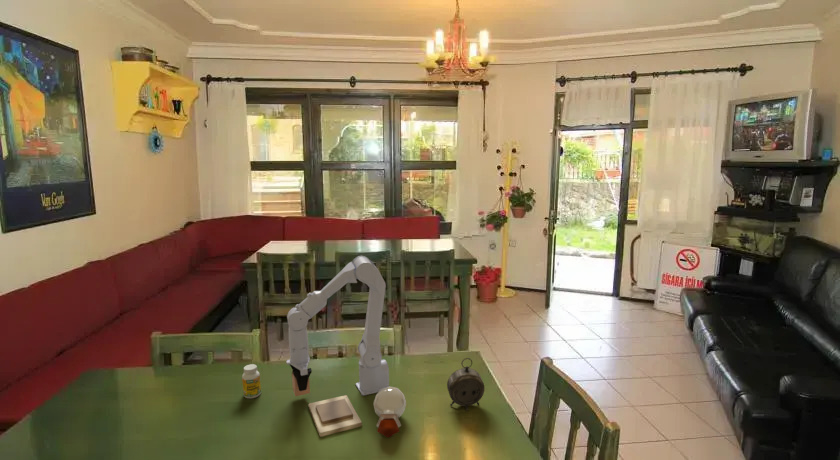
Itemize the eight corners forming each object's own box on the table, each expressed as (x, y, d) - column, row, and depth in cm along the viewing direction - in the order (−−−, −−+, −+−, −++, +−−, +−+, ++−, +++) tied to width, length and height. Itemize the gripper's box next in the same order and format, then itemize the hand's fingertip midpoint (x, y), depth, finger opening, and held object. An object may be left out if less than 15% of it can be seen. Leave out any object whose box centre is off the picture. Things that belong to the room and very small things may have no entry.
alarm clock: (481, 401, 146) (482, 353, 143) (485, 411, 141) (486, 361, 138) (446, 403, 145) (447, 355, 142) (449, 413, 140) (450, 363, 137)
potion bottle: (394, 411, 143) (393, 447, 129) (368, 395, 141) (364, 431, 127) (412, 390, 141) (412, 424, 127) (385, 374, 139) (383, 407, 125)
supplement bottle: (258, 388, 154) (256, 361, 152) (263, 395, 149) (261, 368, 147) (241, 393, 151) (239, 365, 149) (245, 400, 146) (243, 372, 145)
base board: (346, 398, 148) (346, 392, 147) (361, 426, 133) (361, 419, 133) (308, 407, 143) (308, 400, 142) (320, 436, 128) (319, 429, 128)
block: (307, 386, 150) (306, 369, 149) (309, 393, 146) (308, 375, 145) (292, 389, 148) (291, 372, 147) (295, 396, 144) (294, 378, 143)
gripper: (282, 339, 149) (284, 378, 152) (289, 358, 136) (292, 400, 139) (304, 335, 152) (306, 373, 155) (313, 353, 139) (315, 395, 142)
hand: (301, 386), depth 147 cm, fingers closed on block, 4 cm apart
